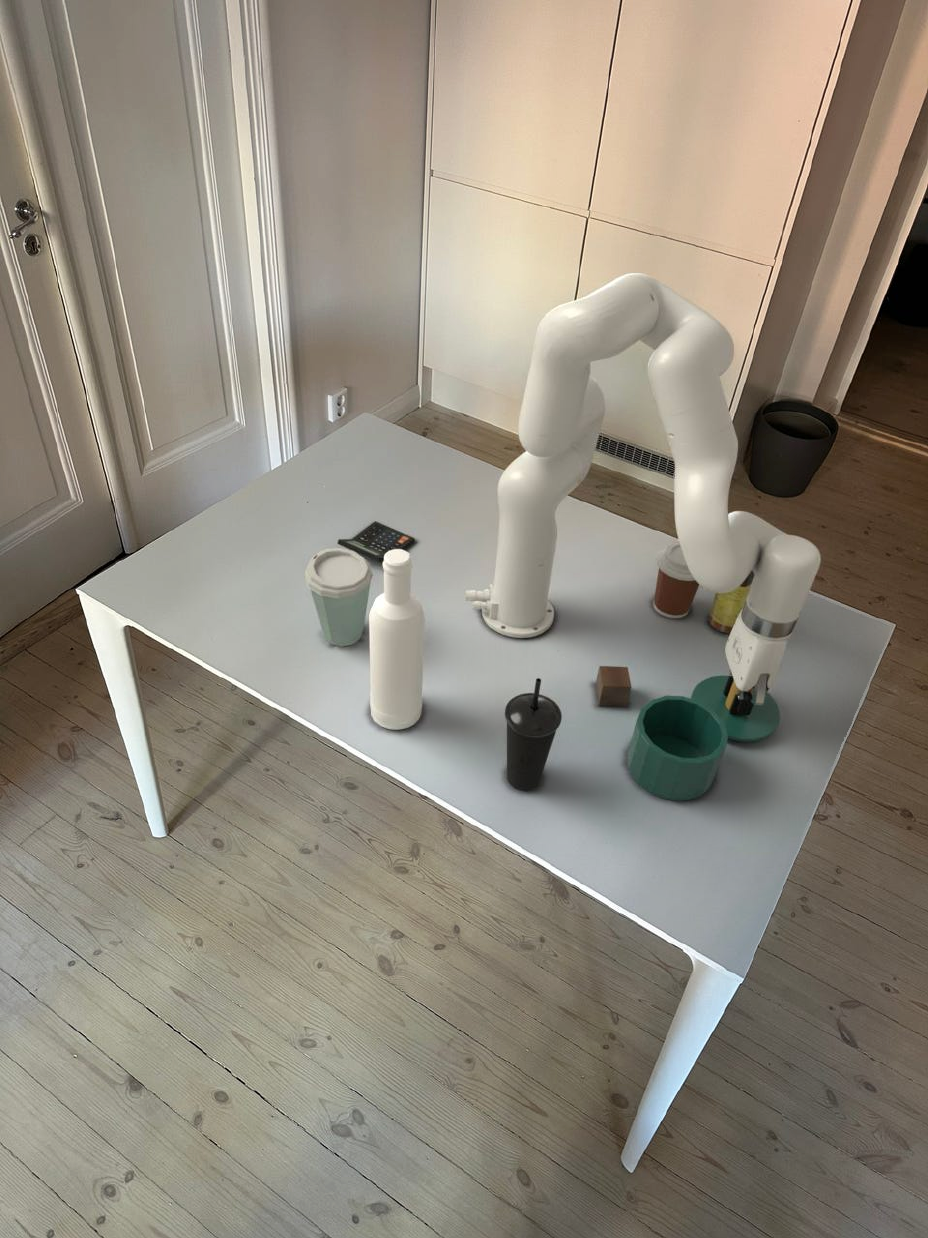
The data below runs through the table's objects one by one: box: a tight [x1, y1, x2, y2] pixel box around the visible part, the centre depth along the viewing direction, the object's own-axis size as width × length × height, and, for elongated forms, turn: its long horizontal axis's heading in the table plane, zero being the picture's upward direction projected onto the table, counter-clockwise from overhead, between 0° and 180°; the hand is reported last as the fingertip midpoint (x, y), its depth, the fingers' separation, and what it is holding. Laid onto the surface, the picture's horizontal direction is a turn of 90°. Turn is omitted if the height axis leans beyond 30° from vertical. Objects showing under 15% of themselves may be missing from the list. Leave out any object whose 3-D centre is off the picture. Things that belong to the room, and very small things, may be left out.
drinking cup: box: [504, 677, 563, 792], centre depth 120 cm, size 8×8×20 cm
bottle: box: [368, 549, 426, 731], centre depth 125 cm, size 8×8×30 cm
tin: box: [626, 695, 729, 802], centre depth 127 cm, size 13×13×8 cm
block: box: [594, 665, 632, 708], centre depth 139 cm, size 4×4×4 cm
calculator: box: [337, 521, 415, 563], centre depth 165 cm, size 9×12×3 cm
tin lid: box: [690, 675, 781, 742], centre depth 136 cm, size 14×14×7 cm
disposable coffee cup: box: [304, 547, 373, 647], centre depth 142 cm, size 11×11×15 cm
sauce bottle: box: [708, 571, 754, 634], centre depth 149 cm, size 7×6×20 cm
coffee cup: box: [652, 541, 701, 619], centre depth 154 cm, size 9×9×12 cm
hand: (736, 703), depth 137 cm, fingers closed on tin lid, 3 cm apart
